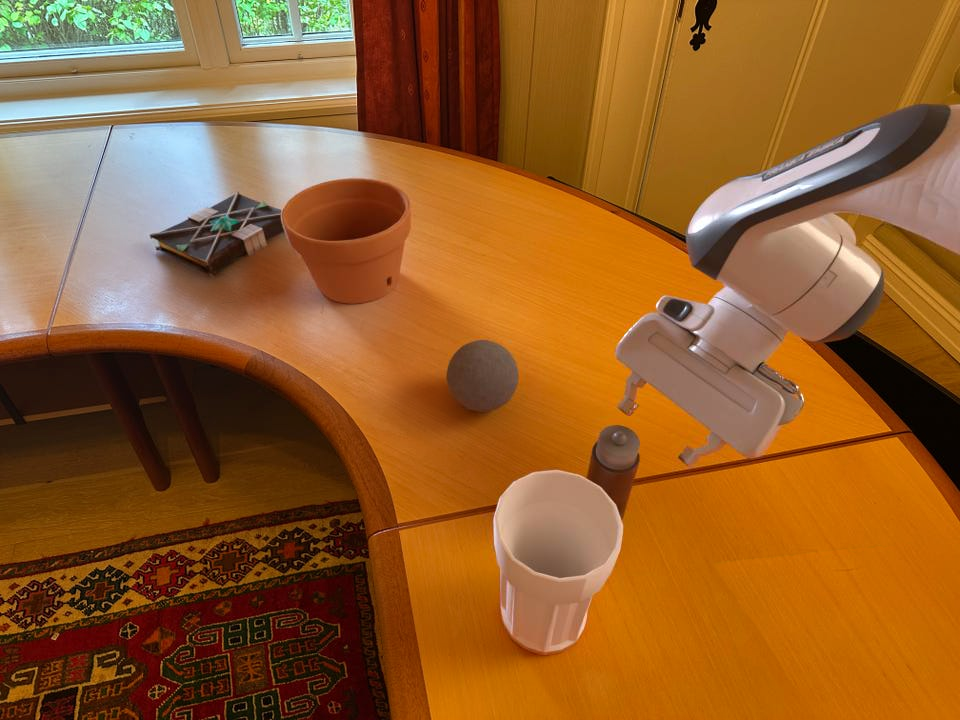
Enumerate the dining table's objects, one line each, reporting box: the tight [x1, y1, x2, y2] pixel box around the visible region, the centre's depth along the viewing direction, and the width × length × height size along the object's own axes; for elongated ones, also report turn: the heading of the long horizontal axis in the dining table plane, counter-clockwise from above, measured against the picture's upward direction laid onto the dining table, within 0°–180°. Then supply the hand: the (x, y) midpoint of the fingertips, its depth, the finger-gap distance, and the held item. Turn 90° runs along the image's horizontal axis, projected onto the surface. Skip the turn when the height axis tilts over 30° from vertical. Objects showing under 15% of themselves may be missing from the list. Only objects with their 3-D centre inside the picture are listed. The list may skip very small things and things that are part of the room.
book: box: [149, 190, 285, 279], centre depth 118 cm, size 22×17×5 cm
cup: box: [493, 469, 624, 656], centre depth 59 cm, size 11×11×17 cm
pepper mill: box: [585, 424, 641, 522], centre depth 69 cm, size 5×5×14 cm
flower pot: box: [281, 177, 412, 305], centre depth 104 cm, size 21×21×15 cm
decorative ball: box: [446, 339, 519, 413], centre depth 84 cm, size 10×10×10 cm
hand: (652, 436), depth 70 cm, fingers open, 8 cm apart
